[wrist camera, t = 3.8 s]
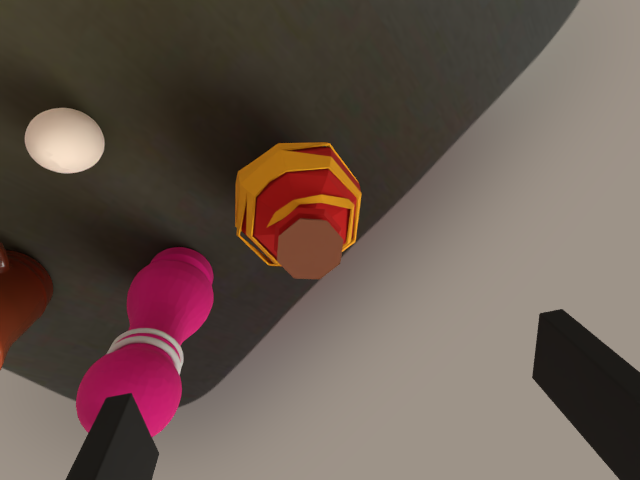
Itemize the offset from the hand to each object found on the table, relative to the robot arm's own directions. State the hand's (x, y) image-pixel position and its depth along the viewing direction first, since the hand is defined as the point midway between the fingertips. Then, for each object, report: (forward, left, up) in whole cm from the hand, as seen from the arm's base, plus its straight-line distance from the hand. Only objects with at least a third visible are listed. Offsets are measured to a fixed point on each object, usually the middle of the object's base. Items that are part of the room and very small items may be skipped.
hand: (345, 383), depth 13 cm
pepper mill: (+4, +14, -26) cm, 30 cm away
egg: (+17, +7, -26) cm, 32 cm away
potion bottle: (0, 0, -26) cm, 27 cm away
